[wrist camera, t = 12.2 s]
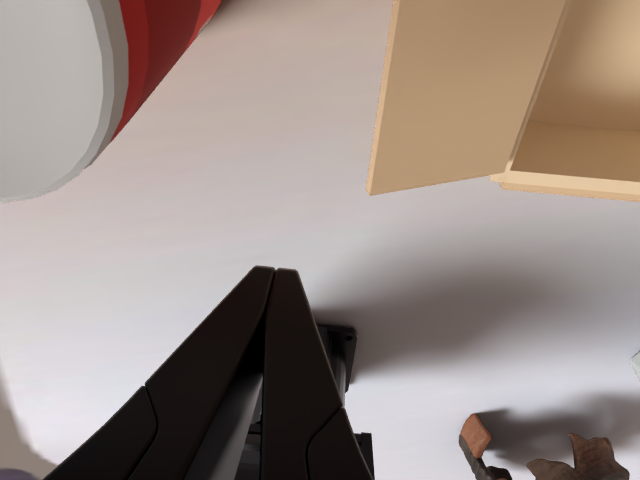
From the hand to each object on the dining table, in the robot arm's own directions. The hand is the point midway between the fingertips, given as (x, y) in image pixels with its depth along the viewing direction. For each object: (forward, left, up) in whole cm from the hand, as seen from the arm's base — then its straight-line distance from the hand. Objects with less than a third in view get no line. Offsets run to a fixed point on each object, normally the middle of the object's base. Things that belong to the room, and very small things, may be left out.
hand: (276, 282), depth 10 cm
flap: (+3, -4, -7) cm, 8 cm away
